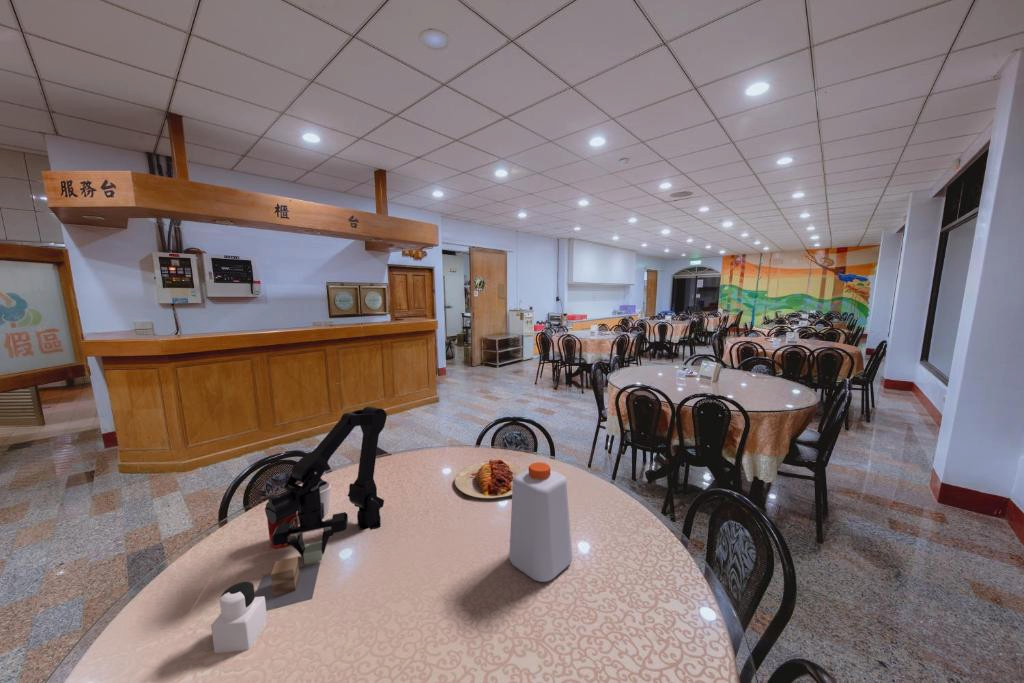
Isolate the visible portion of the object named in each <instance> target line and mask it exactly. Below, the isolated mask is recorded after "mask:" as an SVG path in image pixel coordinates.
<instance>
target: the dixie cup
mask: <svg viewBox="0 0 1024 683" xmlns="http://www.w3.org/2000/svg"><path fill="white" fill-rule="evenodd" d="M326 482H327V484H325V485H323V486H321V487H320V499H321V503H324V518H325V517H326V516H327V515H328V514H329V513H330V512H329V510H330V509H329V508H330V492H331V486H332V485H331V483H330V482H328V481H326Z"/></svg>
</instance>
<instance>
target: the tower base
mask: <svg viewBox="0 0 1024 683" xmlns="http://www.w3.org/2000/svg"><path fill="white" fill-rule="evenodd" d="M299 567H300V566H298V570H297V573H296V577H295V580H292V581H288V582H284V583H280V584H276V585H272V592H273V596H277V595H281V594H285V593H289V592H293V591H296V587H297V584H298V580H299Z"/></svg>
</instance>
